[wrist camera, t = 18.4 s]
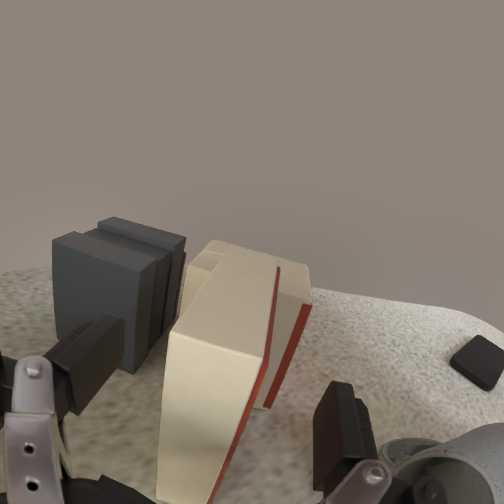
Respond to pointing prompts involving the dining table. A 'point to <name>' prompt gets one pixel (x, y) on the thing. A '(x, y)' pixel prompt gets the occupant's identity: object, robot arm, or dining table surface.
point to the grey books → (119, 281)
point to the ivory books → (286, 316)
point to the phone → (480, 362)
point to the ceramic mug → (455, 464)
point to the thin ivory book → (214, 375)
